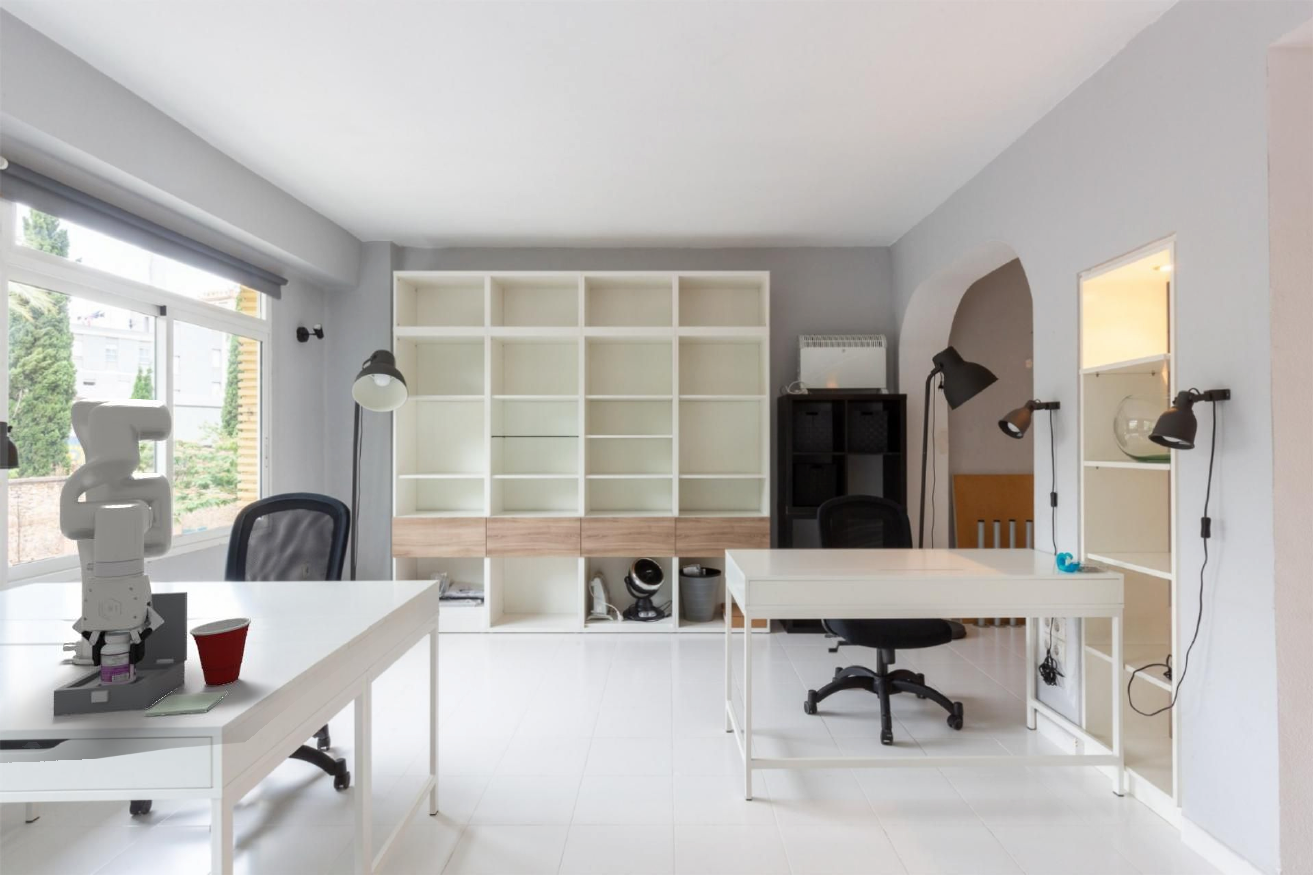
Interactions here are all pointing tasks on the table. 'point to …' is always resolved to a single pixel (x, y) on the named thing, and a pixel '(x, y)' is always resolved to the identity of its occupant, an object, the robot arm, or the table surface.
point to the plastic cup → (221, 649)
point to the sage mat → (186, 703)
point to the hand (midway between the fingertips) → (118, 662)
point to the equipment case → (137, 668)
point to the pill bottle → (117, 659)
